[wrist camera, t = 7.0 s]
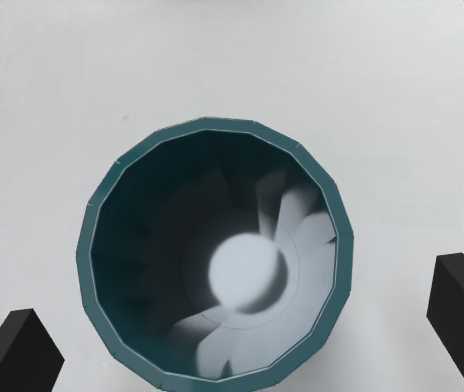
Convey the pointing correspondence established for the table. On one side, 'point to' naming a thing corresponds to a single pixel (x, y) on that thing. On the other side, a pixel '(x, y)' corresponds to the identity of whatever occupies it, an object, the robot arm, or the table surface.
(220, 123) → the cup
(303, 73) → the table surface
